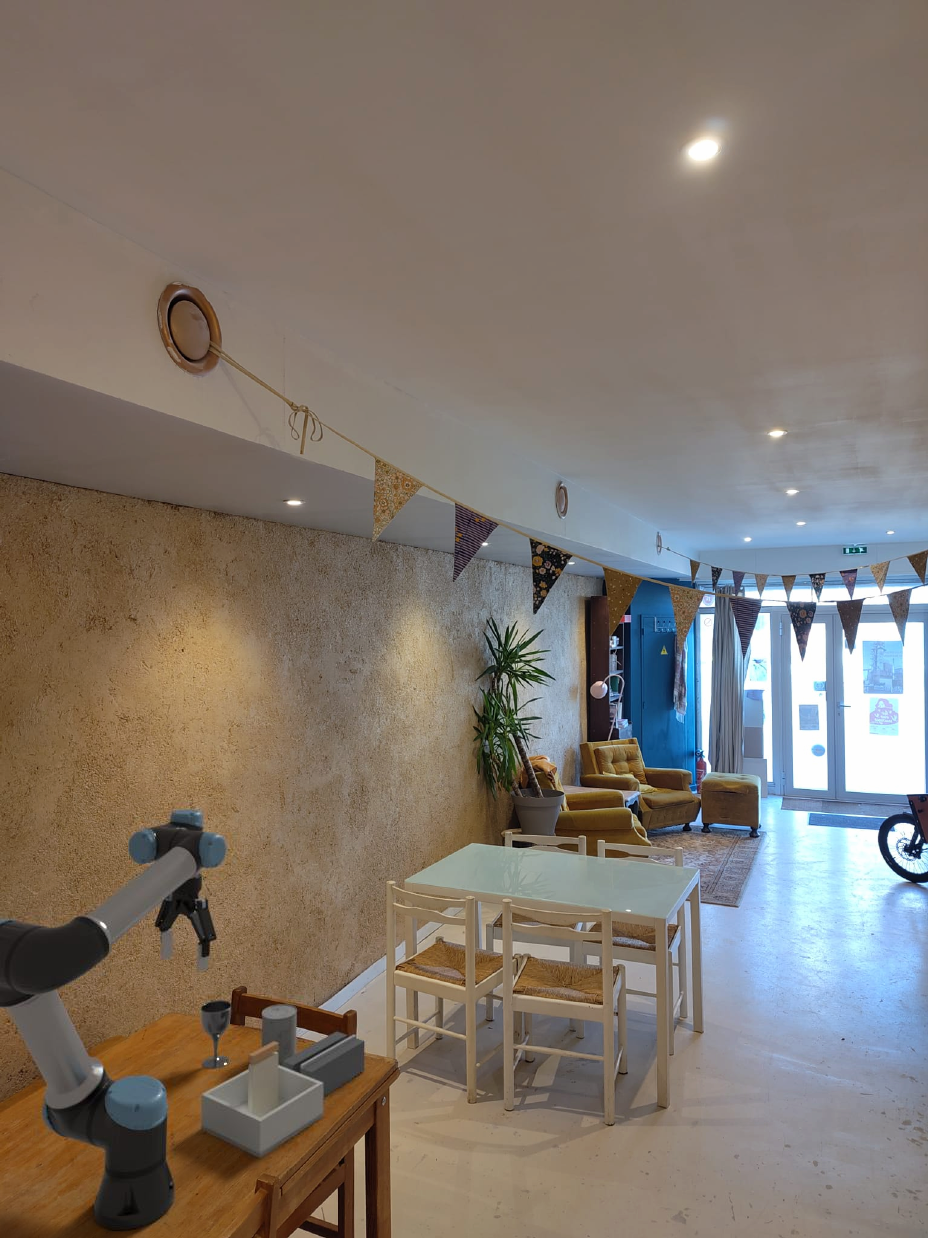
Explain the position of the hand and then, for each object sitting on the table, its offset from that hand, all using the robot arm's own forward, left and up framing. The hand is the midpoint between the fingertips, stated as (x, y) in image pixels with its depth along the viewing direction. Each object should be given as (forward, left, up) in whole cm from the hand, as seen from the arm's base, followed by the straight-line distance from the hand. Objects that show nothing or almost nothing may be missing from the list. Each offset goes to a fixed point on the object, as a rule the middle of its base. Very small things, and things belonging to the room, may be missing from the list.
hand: (184, 964), depth 200 cm
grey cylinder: (+35, +4, -37) cm, 51 cm away
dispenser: (+32, -16, -37) cm, 51 cm away
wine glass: (+23, +16, -37) cm, 46 cm away
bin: (+10, -17, -37) cm, 42 cm away
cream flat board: (+10, -17, -36) cm, 41 cm away
